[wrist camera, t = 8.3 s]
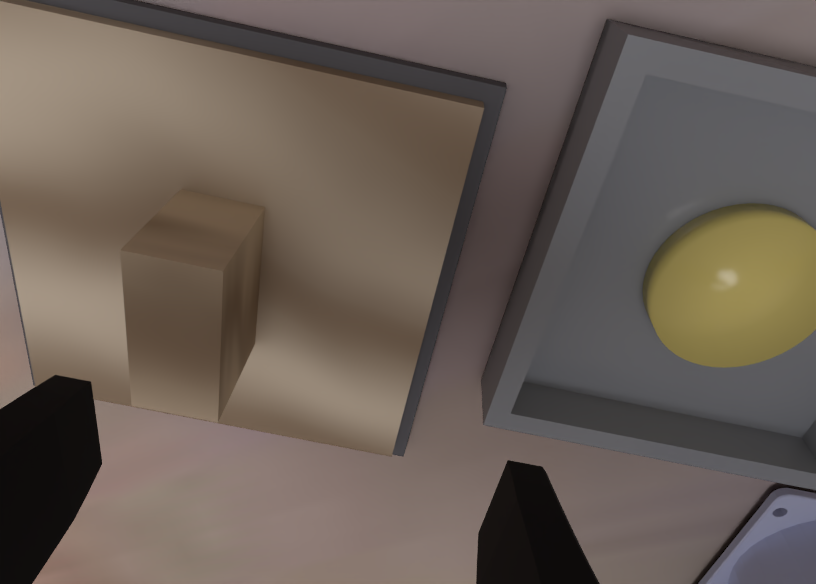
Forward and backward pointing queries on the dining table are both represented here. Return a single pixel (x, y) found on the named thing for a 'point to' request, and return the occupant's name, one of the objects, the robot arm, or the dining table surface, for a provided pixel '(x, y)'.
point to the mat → (121, 6)
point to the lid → (223, 224)
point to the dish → (673, 266)
